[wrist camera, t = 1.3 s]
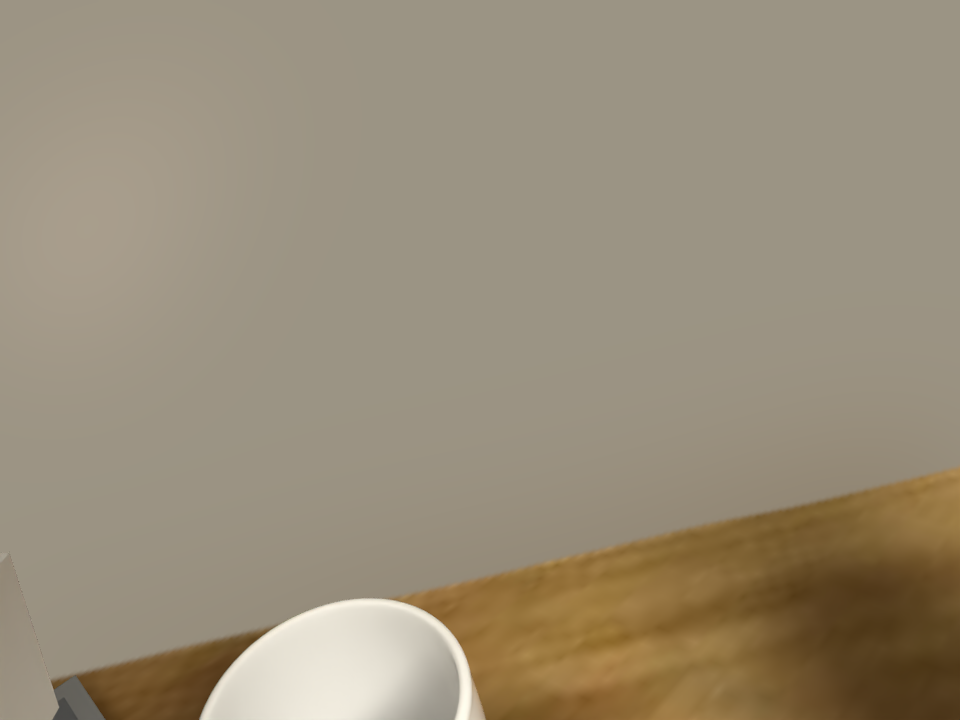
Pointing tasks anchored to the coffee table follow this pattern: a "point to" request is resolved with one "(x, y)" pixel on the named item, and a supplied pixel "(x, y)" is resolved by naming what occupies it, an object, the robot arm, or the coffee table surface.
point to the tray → (75, 702)
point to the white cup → (350, 668)
